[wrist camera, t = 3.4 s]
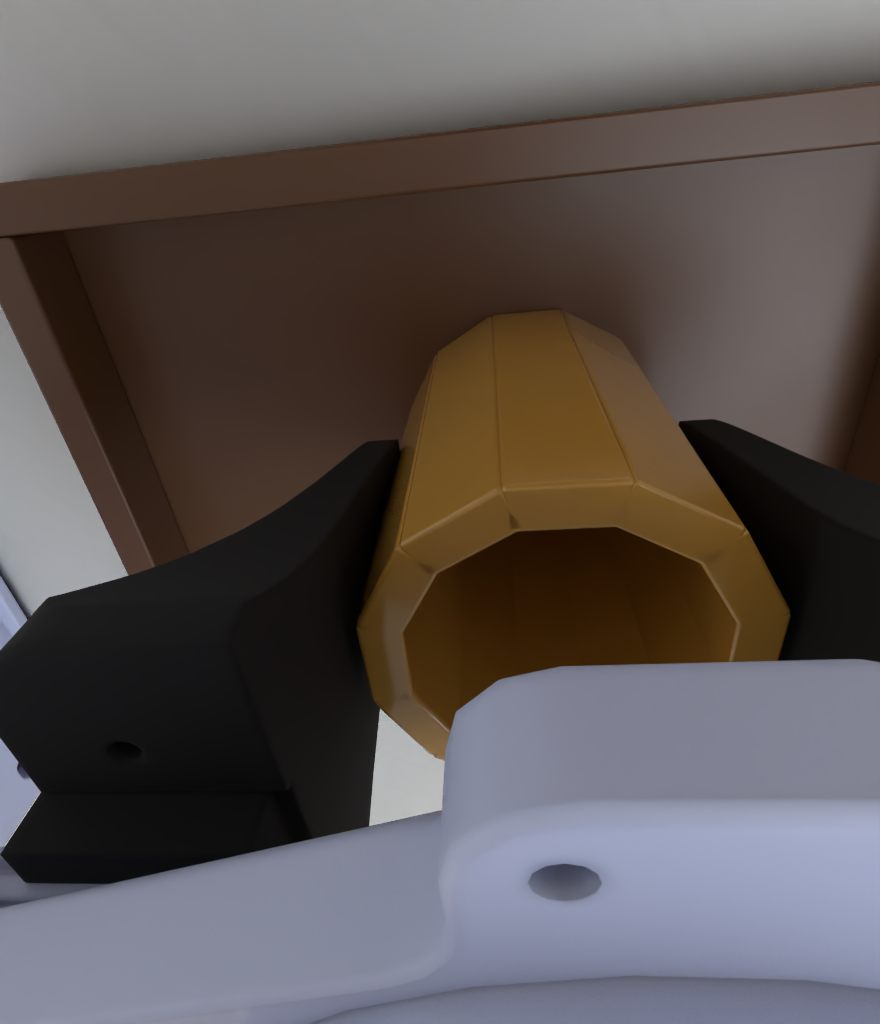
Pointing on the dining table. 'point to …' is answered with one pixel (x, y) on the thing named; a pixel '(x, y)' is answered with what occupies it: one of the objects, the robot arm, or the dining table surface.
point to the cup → (550, 529)
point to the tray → (442, 291)
